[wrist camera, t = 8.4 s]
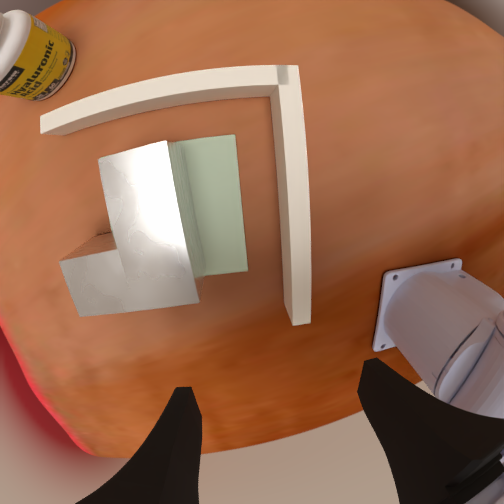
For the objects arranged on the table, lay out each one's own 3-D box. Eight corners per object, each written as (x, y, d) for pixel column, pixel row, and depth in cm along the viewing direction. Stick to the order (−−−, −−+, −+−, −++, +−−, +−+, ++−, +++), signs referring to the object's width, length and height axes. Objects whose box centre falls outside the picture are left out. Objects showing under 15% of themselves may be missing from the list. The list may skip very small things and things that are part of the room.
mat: (234, 134, 16) (235, 134, 16) (247, 269, 19) (248, 270, 19) (101, 157, 15) (100, 157, 15) (125, 282, 18) (124, 283, 18)
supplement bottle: (44, 114, 14) (-52, 106, 4) (18, 82, 12) (-64, 67, 3) (90, 56, 13) (9, 8, 4) (59, 29, 11) (-12, -12, 2)
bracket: (206, 266, 18) (199, 302, 14) (108, 281, 18) (79, 316, 13) (183, 145, 16) (166, 140, 11) (81, 173, 15) (39, 181, 11)
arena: (286, 79, 15) (297, 65, 12) (299, 301, 20) (310, 322, 17) (63, 119, 14) (40, 116, 11) (103, 318, 19) (89, 340, 16)
